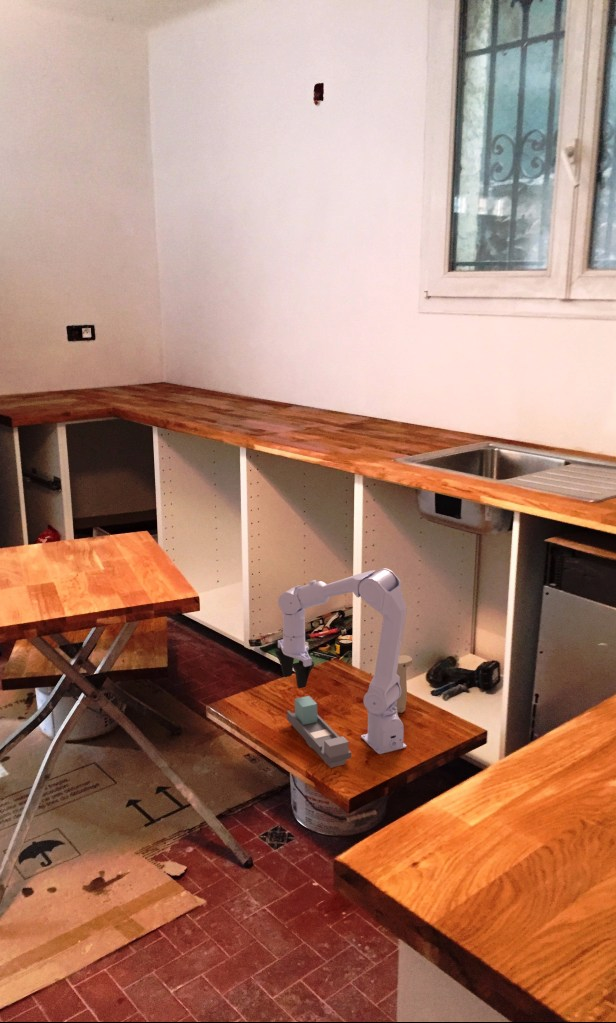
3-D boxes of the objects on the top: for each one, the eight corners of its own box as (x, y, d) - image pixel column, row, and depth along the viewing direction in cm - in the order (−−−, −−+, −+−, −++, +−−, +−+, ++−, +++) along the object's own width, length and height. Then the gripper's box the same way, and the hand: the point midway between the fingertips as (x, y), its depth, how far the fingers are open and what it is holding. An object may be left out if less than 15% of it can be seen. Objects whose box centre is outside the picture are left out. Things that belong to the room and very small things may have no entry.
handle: (384, 709, 230) (385, 657, 227) (405, 704, 233) (406, 653, 229) (392, 717, 226) (393, 664, 222) (413, 712, 228) (415, 660, 224)
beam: (351, 763, 204) (351, 741, 202) (327, 769, 201) (327, 747, 200) (309, 719, 225) (309, 698, 224) (287, 724, 222) (286, 703, 221)
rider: (317, 721, 217) (317, 703, 216) (302, 725, 216) (302, 707, 214) (309, 713, 222) (308, 695, 220) (295, 716, 220) (294, 698, 219)
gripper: (321, 639, 216) (321, 688, 219) (293, 621, 228) (294, 667, 232) (297, 645, 213) (298, 695, 216) (270, 626, 225) (271, 673, 228)
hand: (294, 681), depth 224 cm, fingers open, 7 cm apart
